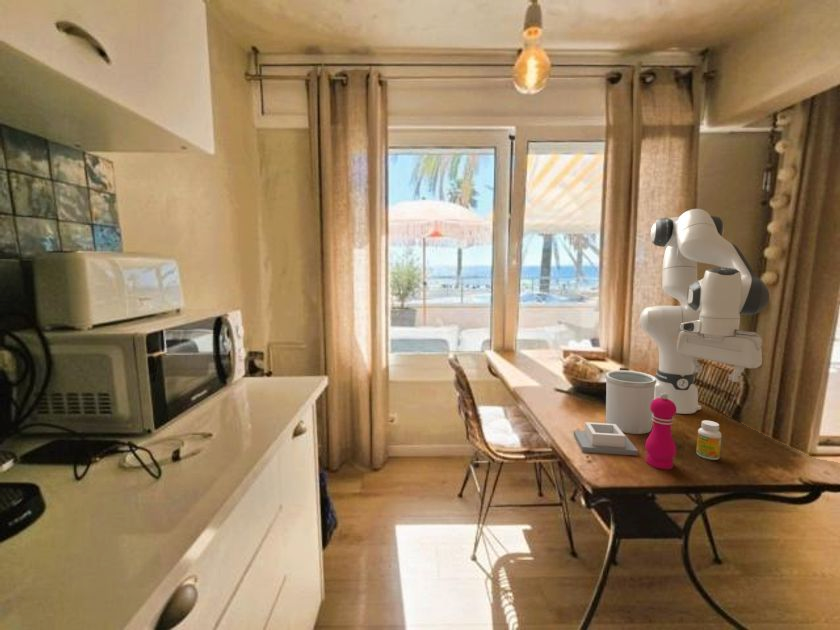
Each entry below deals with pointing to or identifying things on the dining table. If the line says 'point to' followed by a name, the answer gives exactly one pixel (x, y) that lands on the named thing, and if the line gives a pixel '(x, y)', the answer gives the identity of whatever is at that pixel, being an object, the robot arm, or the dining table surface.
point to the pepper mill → (661, 434)
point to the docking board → (604, 439)
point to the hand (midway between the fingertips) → (714, 376)
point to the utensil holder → (630, 400)
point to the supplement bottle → (709, 440)
